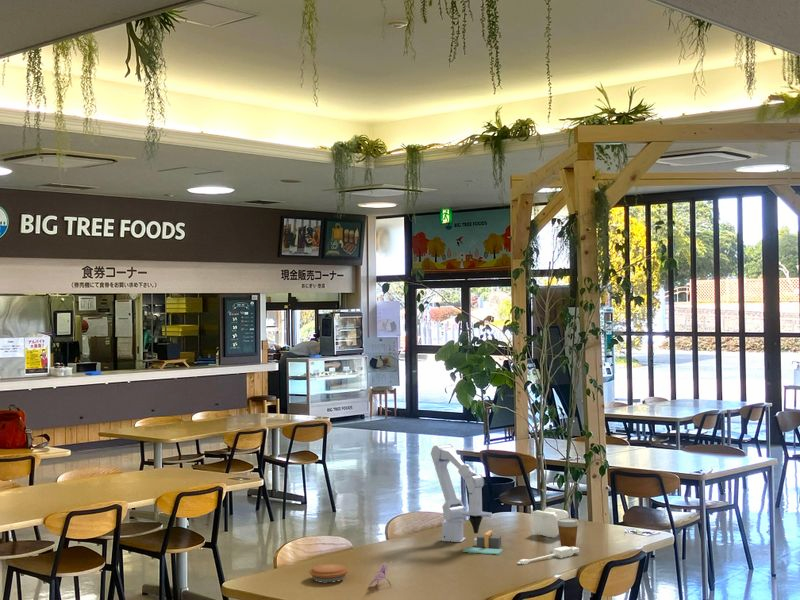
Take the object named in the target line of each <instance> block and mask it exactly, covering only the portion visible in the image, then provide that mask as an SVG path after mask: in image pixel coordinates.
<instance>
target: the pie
mask: <svg viewBox="0 0 800 600" xmlns="http://www.w3.org/2000/svg"><path fill="white" fill-rule="evenodd" d="M348 572H349V568H347V567H346V566H344V565H342V564H337V563H325V564H319V565H315V566H314V567H312V568H310V569H309V570H308V573H309V575H311V577H312V578H313V580H314V581H315V580H317V581H322V582H333V581H338V580H341V579H343V578H345V577H346V574H347V573H348ZM343 580H344V579H343Z"/></svg>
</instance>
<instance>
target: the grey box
mask: <svg viewBox="0 0 800 600" xmlns="http://www.w3.org/2000/svg"><path fill="white" fill-rule="evenodd" d="M473 544H475V545H476V548H482V547H485V541H484V534H479V535H478V536H476V537H475V538H474V539H473ZM501 547H502V536H501V535H493V536H489V548H490V549H498V548H499V549H501Z"/></svg>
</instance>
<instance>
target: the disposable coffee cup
mask: <svg viewBox="0 0 800 600" xmlns="http://www.w3.org/2000/svg"><path fill="white" fill-rule="evenodd" d="M557 524H558V529H559V535H558V537H559V541H560V547H563V546H567V547H572V546H573V547H576V546H577V535H578V527H579V524H580V523H579V521H578V519H577V518H562V519H558V522H557Z"/></svg>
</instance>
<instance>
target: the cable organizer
mask: <svg viewBox="0 0 800 600" xmlns="http://www.w3.org/2000/svg"><path fill="white" fill-rule="evenodd" d="M569 516H570V514H569V512H568V511H567V510H564V509H559V508H553V507H546V508H545V509H544V510H538V509H537V510H533V511H532V514H531V518H532V532H533V533H534V534H535V535H537V536H539V535H543V536H542V537H546V538H548V537H552V538H551V539H555V538H558V537H559V529H558V524H557V522H558V519H562V518H569Z"/></svg>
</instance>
